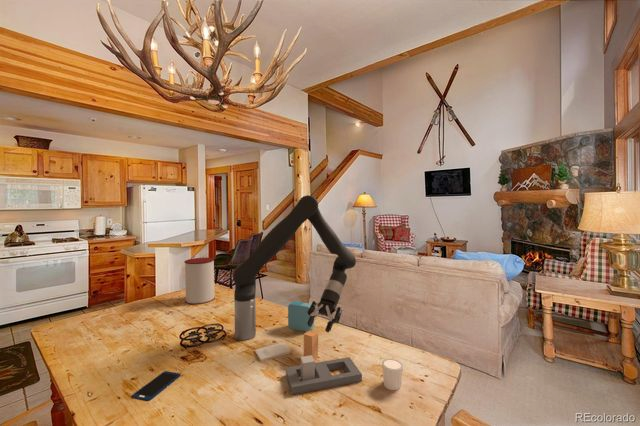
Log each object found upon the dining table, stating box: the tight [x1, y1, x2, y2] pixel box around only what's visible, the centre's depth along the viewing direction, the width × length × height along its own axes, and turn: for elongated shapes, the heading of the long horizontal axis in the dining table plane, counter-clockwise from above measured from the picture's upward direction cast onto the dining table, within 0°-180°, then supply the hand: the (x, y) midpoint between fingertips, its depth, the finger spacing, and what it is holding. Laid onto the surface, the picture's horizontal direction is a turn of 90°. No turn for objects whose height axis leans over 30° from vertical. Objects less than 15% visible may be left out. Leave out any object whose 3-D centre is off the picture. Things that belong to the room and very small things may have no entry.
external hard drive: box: [254, 341, 292, 362], centre depth 114 cm, size 2×8×12 cm
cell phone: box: [131, 370, 182, 402], centre depth 94 cm, size 7×14×1 cm, turn 165°
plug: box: [303, 329, 319, 362], centre depth 110 cm, size 4×4×10 cm
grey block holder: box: [285, 355, 363, 396], centre depth 97 cm, size 24×11×8 cm, turn 106°
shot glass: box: [381, 358, 404, 391], centre depth 94 cm, size 7×7×7 cm
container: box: [184, 257, 216, 305], centre depth 177 cm, size 17×17×25 cm
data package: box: [287, 300, 315, 333], centre depth 136 cm, size 12×4×12 cm, turn 66°
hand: (317, 328), depth 113 cm, fingers open, 8 cm apart
